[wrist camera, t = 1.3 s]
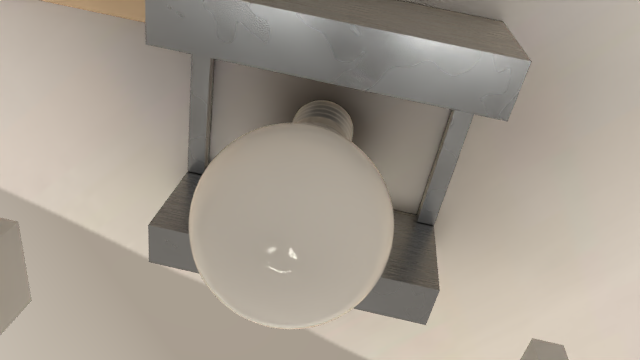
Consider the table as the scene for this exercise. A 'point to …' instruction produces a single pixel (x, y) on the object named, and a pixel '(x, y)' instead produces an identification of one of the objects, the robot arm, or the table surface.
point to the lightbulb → (292, 221)
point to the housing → (354, 72)
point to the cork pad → (109, 7)
